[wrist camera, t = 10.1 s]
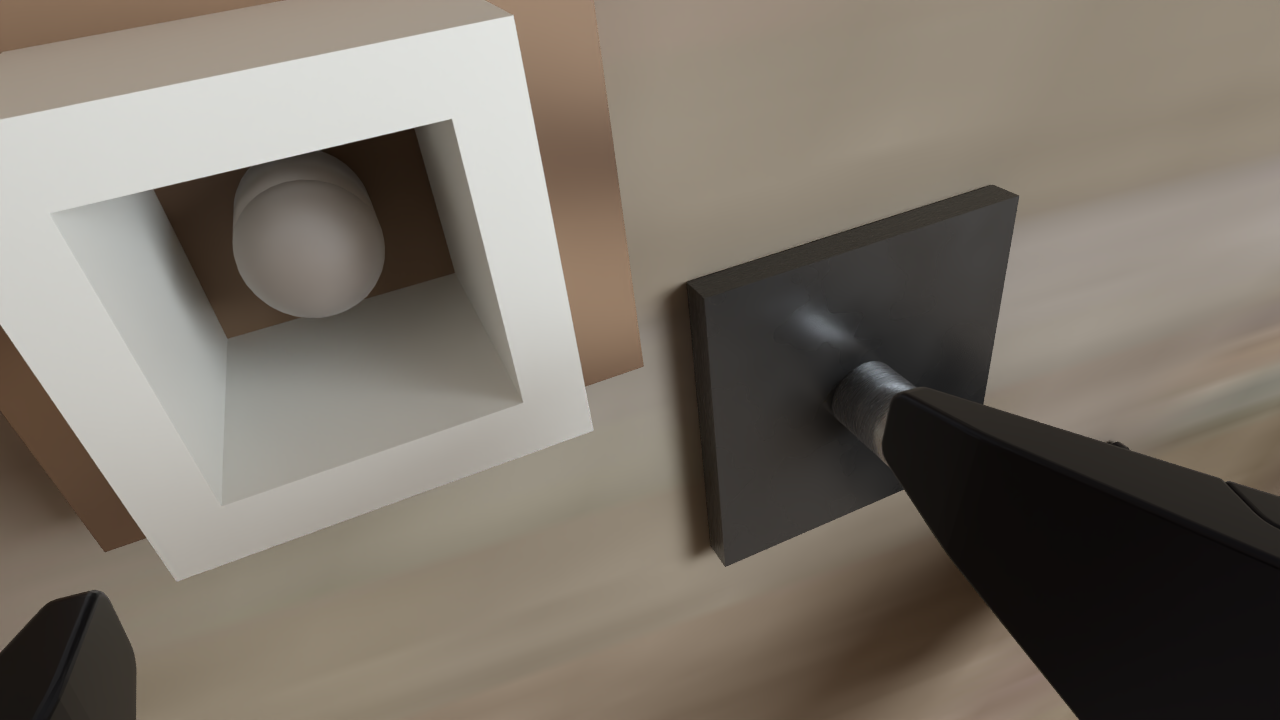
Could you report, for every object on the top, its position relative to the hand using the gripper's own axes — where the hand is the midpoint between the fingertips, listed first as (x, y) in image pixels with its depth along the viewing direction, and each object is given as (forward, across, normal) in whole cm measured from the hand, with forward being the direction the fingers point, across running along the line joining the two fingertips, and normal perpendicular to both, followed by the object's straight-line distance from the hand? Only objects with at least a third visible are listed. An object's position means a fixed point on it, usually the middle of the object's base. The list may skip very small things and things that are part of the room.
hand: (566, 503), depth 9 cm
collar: (+8, +2, -1) cm, 9 cm away
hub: (+10, +2, -1) cm, 10 cm away
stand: (+10, -12, +7) cm, 17 cm away
